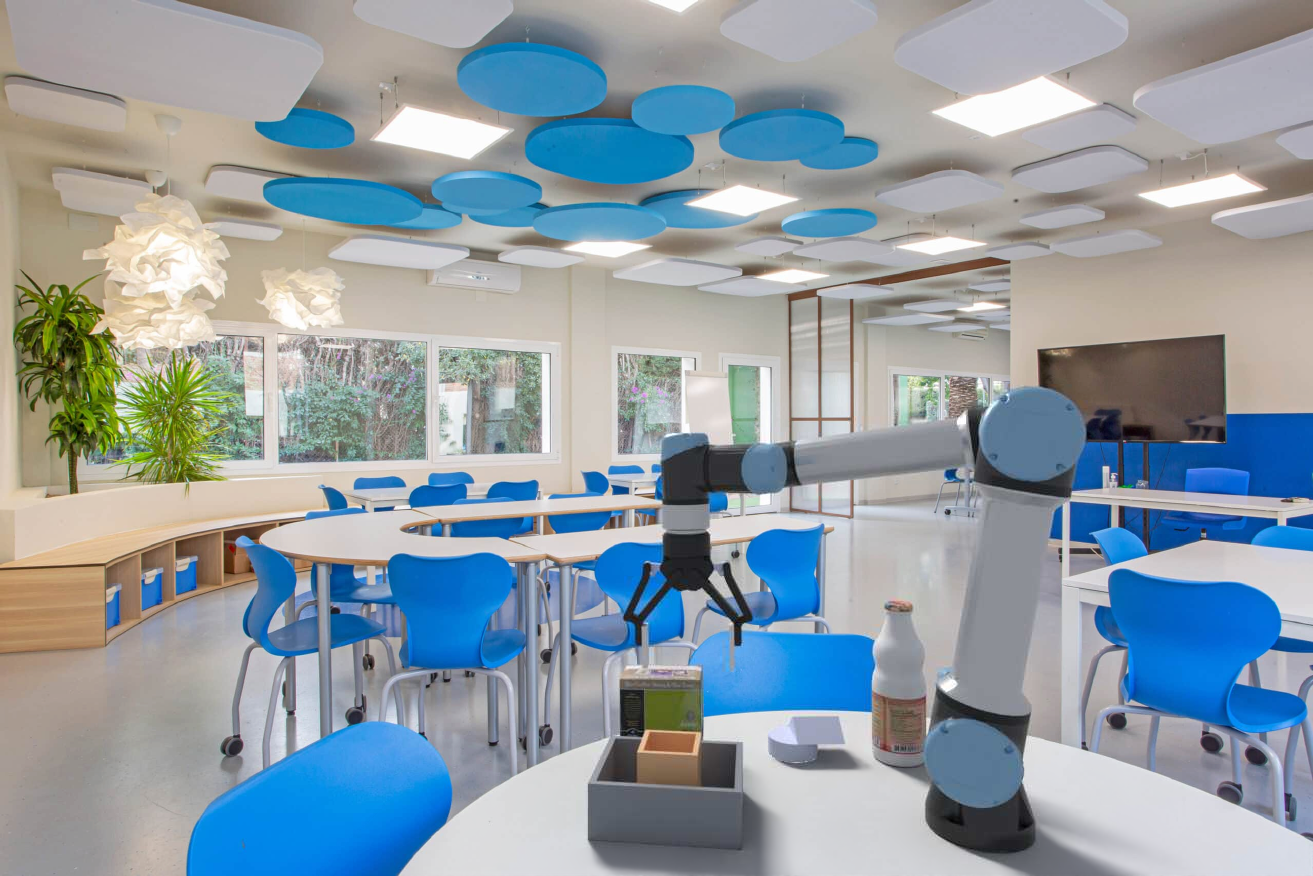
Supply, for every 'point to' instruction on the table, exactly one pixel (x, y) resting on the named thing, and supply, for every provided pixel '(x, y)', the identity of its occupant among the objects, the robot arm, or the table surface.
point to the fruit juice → (898, 690)
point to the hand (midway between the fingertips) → (688, 666)
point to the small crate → (669, 758)
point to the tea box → (661, 699)
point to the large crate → (667, 799)
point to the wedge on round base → (804, 737)
